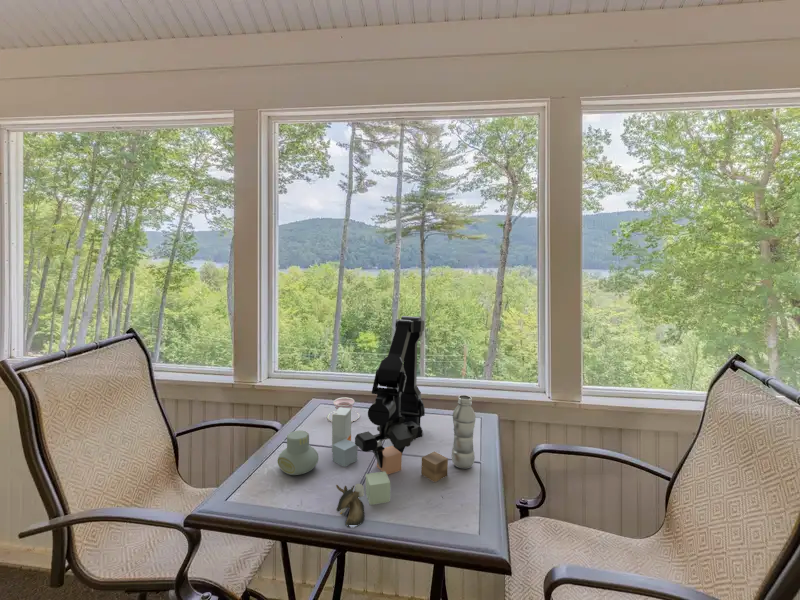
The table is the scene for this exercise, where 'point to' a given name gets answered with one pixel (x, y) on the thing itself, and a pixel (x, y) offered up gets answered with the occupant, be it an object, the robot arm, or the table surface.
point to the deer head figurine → (352, 504)
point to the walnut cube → (434, 466)
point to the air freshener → (298, 454)
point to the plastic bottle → (463, 433)
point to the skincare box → (341, 425)
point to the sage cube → (377, 488)
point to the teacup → (344, 405)
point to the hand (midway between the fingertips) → (389, 464)
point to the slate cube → (344, 452)
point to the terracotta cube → (391, 460)
